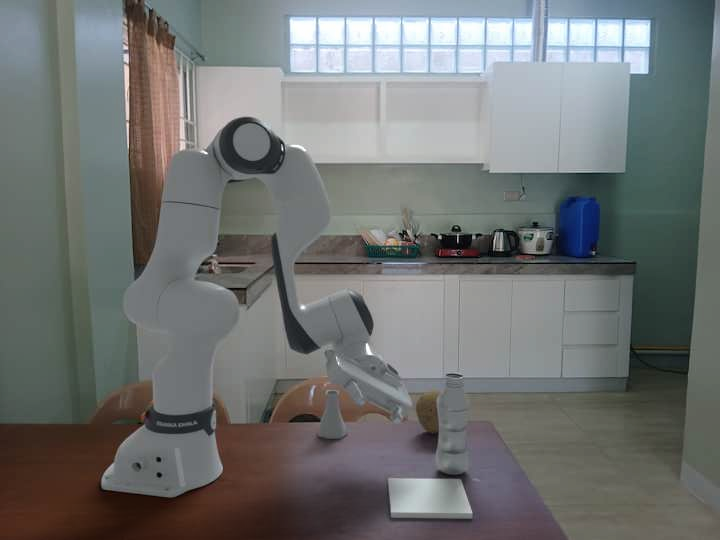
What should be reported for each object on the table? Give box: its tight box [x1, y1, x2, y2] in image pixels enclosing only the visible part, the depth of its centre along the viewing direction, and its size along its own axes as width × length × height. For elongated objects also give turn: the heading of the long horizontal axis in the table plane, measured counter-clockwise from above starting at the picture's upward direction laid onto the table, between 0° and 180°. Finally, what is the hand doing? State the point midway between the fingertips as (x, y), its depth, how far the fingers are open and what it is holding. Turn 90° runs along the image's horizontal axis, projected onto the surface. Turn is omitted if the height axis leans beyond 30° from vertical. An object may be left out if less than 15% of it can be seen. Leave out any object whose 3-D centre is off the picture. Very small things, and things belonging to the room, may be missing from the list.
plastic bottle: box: [434, 372, 471, 476], centre depth 116 cm, size 6×7×20 cm
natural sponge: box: [415, 390, 441, 435], centre depth 135 cm, size 9×9×10 cm
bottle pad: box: [387, 477, 473, 520], centre depth 106 cm, size 14×12×1 cm
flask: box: [316, 389, 348, 440], centre depth 134 cm, size 7×7×10 cm
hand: (379, 412), depth 109 cm, fingers open, 8 cm apart
